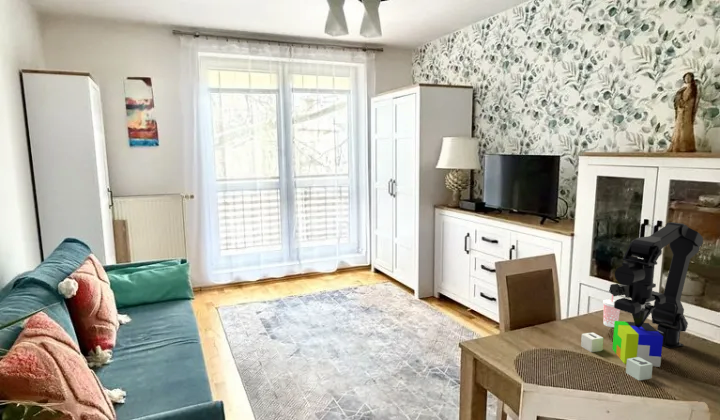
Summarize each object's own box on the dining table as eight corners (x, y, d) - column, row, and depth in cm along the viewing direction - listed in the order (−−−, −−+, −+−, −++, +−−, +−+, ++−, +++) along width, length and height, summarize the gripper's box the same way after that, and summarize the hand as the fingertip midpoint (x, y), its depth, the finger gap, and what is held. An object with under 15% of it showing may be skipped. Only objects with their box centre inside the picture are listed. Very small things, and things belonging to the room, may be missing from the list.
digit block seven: (637, 370, 129) (639, 356, 128) (651, 378, 125) (652, 363, 124) (625, 373, 128) (627, 358, 127) (638, 380, 124) (640, 365, 123)
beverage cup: (619, 329, 158) (622, 293, 156) (600, 325, 161) (603, 290, 159) (619, 323, 163) (622, 288, 161) (601, 320, 166) (604, 285, 164)
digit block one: (592, 344, 146) (592, 331, 146) (602, 350, 142) (603, 337, 141) (580, 346, 145) (581, 333, 144) (591, 352, 141) (592, 339, 140)
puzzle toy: (660, 367, 131) (663, 336, 130) (624, 364, 133) (626, 333, 132) (645, 351, 141) (648, 323, 139) (612, 349, 143) (614, 320, 141)
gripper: (632, 269, 145) (628, 312, 147) (599, 277, 136) (595, 324, 138) (668, 277, 135) (664, 324, 137) (635, 287, 126) (631, 337, 128)
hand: (638, 327), depth 136 cm, fingers closed
